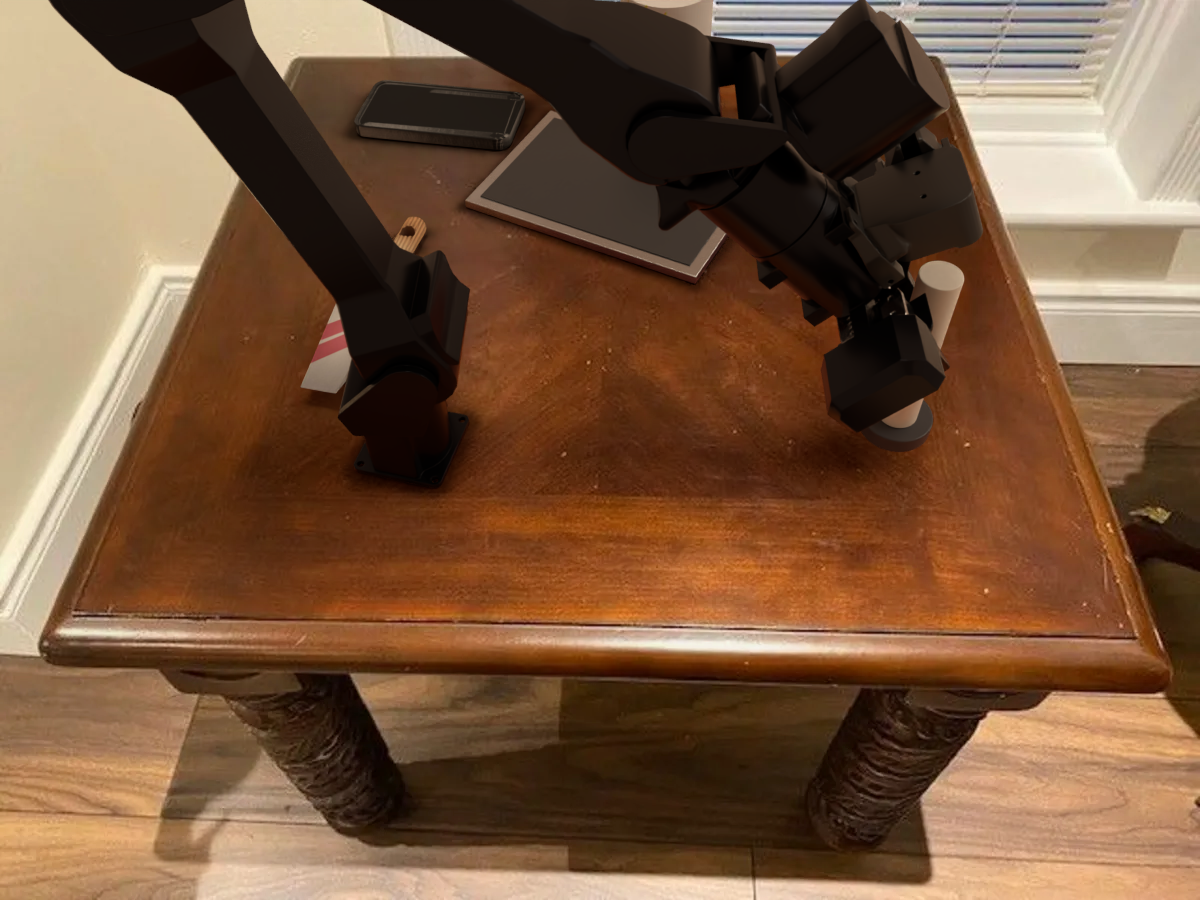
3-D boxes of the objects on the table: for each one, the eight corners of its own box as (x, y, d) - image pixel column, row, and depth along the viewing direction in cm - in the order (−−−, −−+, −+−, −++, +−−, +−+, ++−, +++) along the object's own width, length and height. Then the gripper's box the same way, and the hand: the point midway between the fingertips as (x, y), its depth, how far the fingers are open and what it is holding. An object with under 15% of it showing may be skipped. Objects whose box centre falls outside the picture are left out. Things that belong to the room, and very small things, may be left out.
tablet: (766, 181, 91) (767, 172, 91) (695, 284, 83) (696, 276, 83) (550, 117, 98) (550, 109, 97) (465, 207, 90) (464, 199, 89)
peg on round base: (926, 458, 69) (982, 310, 58) (854, 445, 70) (895, 295, 59) (931, 406, 72) (985, 255, 61) (861, 393, 72) (902, 242, 62)
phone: (507, 140, 94) (350, 125, 96) (508, 151, 95) (353, 135, 97) (527, 92, 99) (377, 78, 101) (528, 102, 100) (379, 88, 102)
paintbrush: (287, 371, 74) (393, 208, 87) (297, 398, 76) (399, 234, 89) (337, 380, 73) (437, 214, 86) (345, 407, 75) (441, 241, 88)
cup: (608, 93, 100) (606, -29, 91) (685, 75, 102) (691, -47, 93) (640, 139, 96) (641, 15, 86) (720, 119, 97) (729, -4, 88)
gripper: (947, 244, 46) (1106, 406, 55) (883, 24, 58) (1022, 186, 66) (753, 365, 53) (922, 493, 61) (730, 145, 64) (875, 278, 73)
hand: (938, 353), depth 65 cm, fingers closed on peg on round base, 2 cm apart
